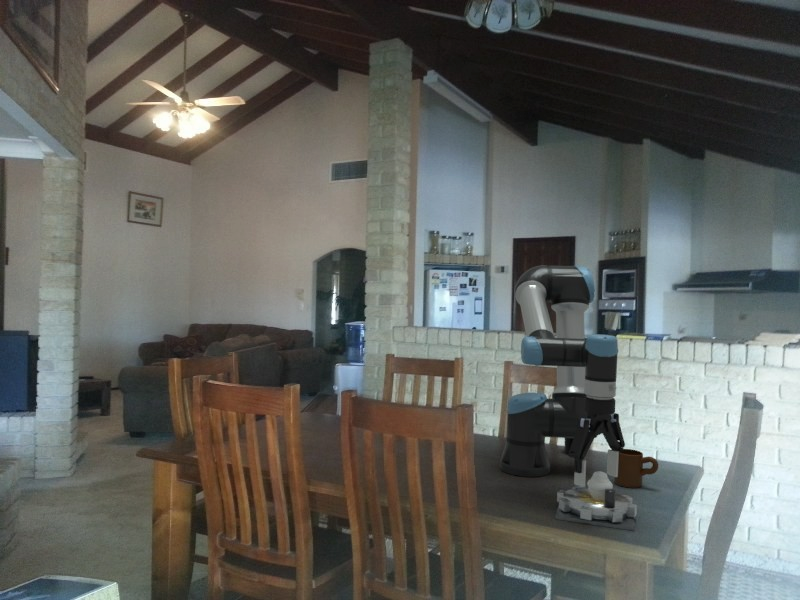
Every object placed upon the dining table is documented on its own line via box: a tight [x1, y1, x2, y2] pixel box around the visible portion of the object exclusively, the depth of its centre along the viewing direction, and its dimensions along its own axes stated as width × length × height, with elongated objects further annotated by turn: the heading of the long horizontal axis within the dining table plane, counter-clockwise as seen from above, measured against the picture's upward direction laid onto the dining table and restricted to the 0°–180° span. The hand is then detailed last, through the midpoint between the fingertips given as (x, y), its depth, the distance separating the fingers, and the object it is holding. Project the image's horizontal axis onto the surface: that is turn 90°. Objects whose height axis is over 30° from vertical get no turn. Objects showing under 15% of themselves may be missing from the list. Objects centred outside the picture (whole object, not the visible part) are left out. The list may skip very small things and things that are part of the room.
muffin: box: [586, 470, 614, 501], centre depth 154 cm, size 6×6×7 cm
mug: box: [614, 448, 659, 489], centre depth 176 cm, size 12×8×9 cm, turn 50°
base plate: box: [554, 502, 636, 532], centre depth 154 cm, size 18×18×1 cm
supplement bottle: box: [563, 438, 581, 455], centre depth 210 cm, size 7×7×12 cm
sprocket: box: [556, 485, 638, 522], centre depth 154 cm, size 19×19×6 cm
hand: (596, 480), depth 155 cm, fingers open, 13 cm apart
